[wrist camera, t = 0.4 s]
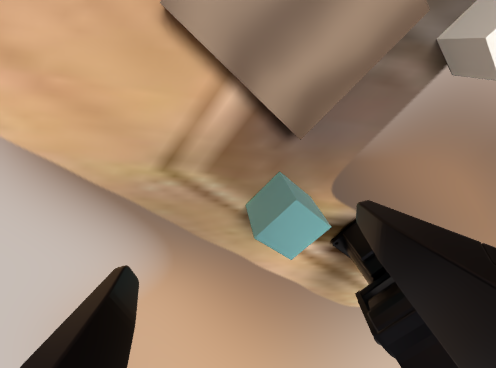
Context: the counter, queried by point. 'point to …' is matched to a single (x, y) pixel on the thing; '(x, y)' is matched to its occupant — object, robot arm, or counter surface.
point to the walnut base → (298, 46)
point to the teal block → (285, 217)
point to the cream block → (472, 42)
